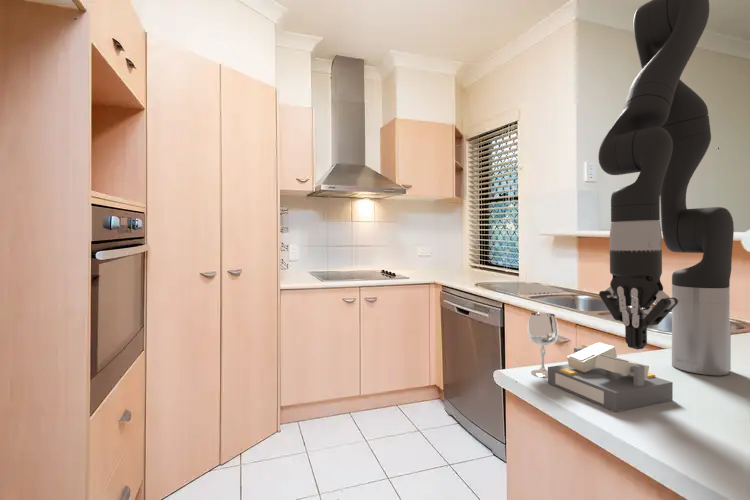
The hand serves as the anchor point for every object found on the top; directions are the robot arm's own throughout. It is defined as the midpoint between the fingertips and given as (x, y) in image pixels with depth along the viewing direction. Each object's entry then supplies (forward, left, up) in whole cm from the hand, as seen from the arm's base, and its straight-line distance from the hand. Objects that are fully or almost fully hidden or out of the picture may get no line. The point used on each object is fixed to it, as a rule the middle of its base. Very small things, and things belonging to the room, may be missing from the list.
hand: (635, 347), depth 69 cm
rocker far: (+3, 0, -3) cm, 4 cm away
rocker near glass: (+3, -6, -3) cm, 7 cm away
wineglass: (+7, -14, -8) cm, 18 cm away
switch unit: (+3, -3, -8) cm, 9 cm away
